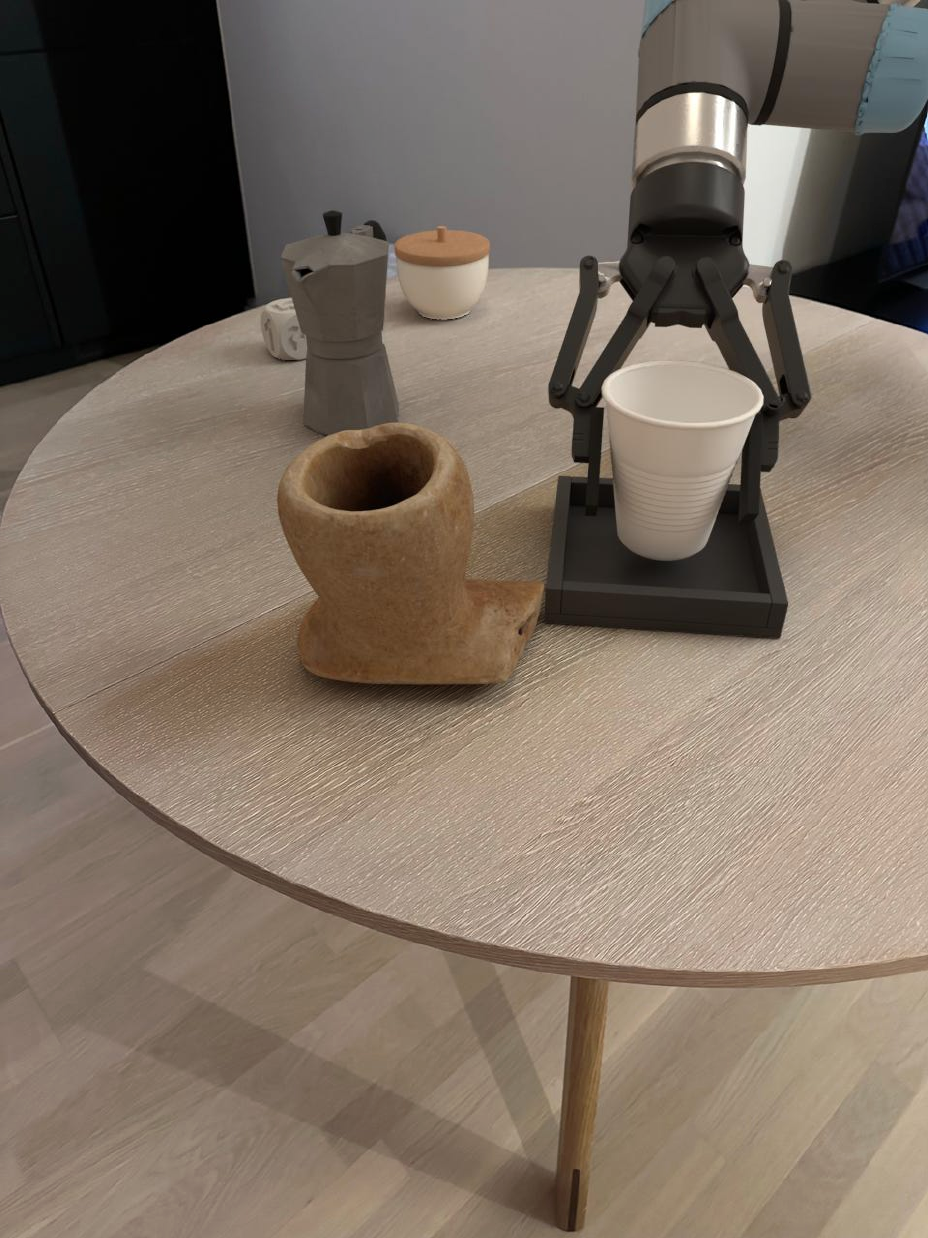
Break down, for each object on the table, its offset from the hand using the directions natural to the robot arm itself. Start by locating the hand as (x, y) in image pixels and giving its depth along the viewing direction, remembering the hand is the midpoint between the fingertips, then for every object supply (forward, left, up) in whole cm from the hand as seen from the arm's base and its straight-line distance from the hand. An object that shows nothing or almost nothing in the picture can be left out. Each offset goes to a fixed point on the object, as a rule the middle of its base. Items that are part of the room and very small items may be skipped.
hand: (669, 514), depth 60 cm
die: (+37, -40, -6) cm, 55 cm away
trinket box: (+23, -54, -6) cm, 59 cm away
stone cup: (+15, +9, -6) cm, 19 cm away
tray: (0, -3, -6) cm, 7 cm away
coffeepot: (+27, -26, -6) cm, 38 cm away
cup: (0, -3, -4) cm, 5 cm away
